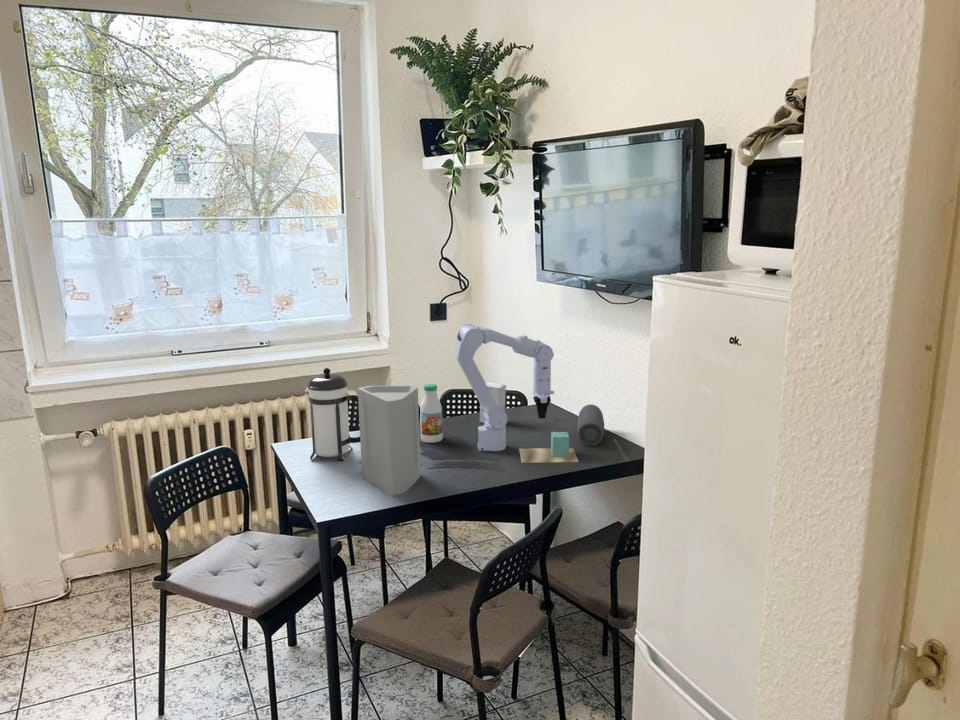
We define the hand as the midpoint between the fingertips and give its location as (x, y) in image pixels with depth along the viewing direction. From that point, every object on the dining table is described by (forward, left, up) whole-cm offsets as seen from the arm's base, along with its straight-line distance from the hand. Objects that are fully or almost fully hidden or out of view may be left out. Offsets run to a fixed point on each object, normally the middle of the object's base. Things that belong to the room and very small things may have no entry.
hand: (541, 417), depth 238 cm
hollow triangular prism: (-46, -28, -11) cm, 55 cm away
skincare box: (-16, +29, -11) cm, 35 cm away
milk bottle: (-38, +9, -11) cm, 40 cm away
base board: (+1, -12, -10) cm, 16 cm away
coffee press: (-69, -6, -11) cm, 70 cm away
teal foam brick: (+5, -11, -9) cm, 15 cm away
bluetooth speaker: (+18, +8, -11) cm, 22 cm away
